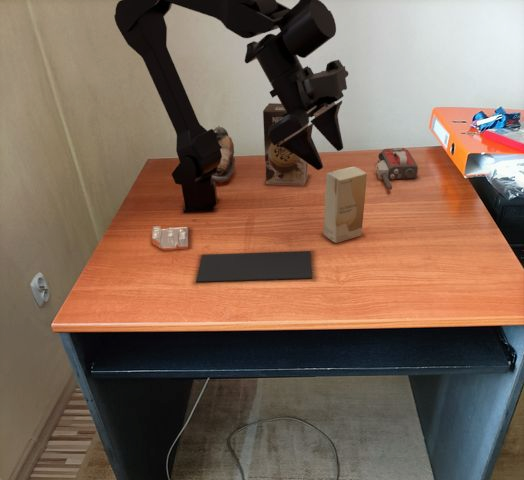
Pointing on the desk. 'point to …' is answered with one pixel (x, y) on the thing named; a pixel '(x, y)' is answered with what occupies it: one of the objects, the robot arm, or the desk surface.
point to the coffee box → (281, 154)
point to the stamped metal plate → (170, 238)
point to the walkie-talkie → (396, 165)
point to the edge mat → (255, 266)
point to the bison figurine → (224, 156)
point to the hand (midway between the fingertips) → (331, 159)
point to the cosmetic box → (344, 203)
